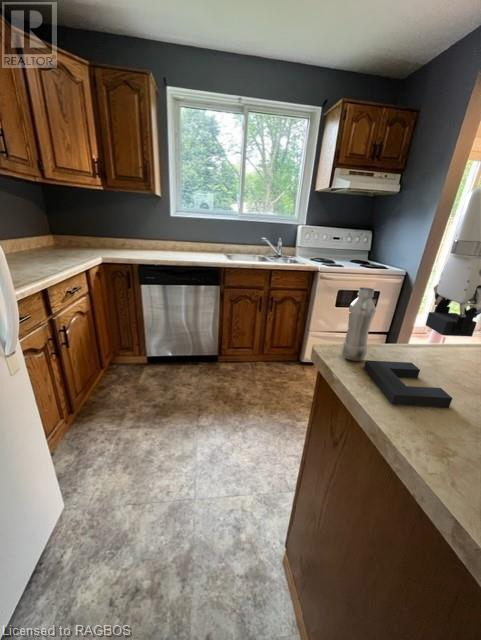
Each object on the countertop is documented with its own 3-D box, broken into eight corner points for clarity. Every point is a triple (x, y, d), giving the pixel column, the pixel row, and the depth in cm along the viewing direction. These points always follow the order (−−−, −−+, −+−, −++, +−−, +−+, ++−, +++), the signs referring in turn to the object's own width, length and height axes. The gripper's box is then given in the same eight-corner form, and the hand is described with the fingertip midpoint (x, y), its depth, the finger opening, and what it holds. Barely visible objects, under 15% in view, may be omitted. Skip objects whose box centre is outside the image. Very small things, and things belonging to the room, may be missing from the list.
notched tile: (409, 370, 71) (411, 362, 70) (449, 408, 57) (452, 398, 56) (363, 368, 71) (365, 360, 70) (391, 404, 57) (394, 394, 56)
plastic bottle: (370, 361, 75) (387, 291, 68) (351, 365, 72) (366, 292, 65) (353, 351, 80) (367, 285, 73) (334, 354, 78) (347, 286, 71)
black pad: (451, 326, 68) (456, 312, 67) (472, 336, 62) (477, 322, 60) (425, 325, 68) (428, 311, 67) (442, 335, 62) (447, 321, 61)
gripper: (529, 255, 50) (495, 343, 56) (461, 247, 66) (440, 315, 73) (488, 254, 50) (458, 341, 56) (430, 246, 67) (412, 314, 73)
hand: (448, 326), depth 64 cm, fingers closed on black pad, 6 cm apart
